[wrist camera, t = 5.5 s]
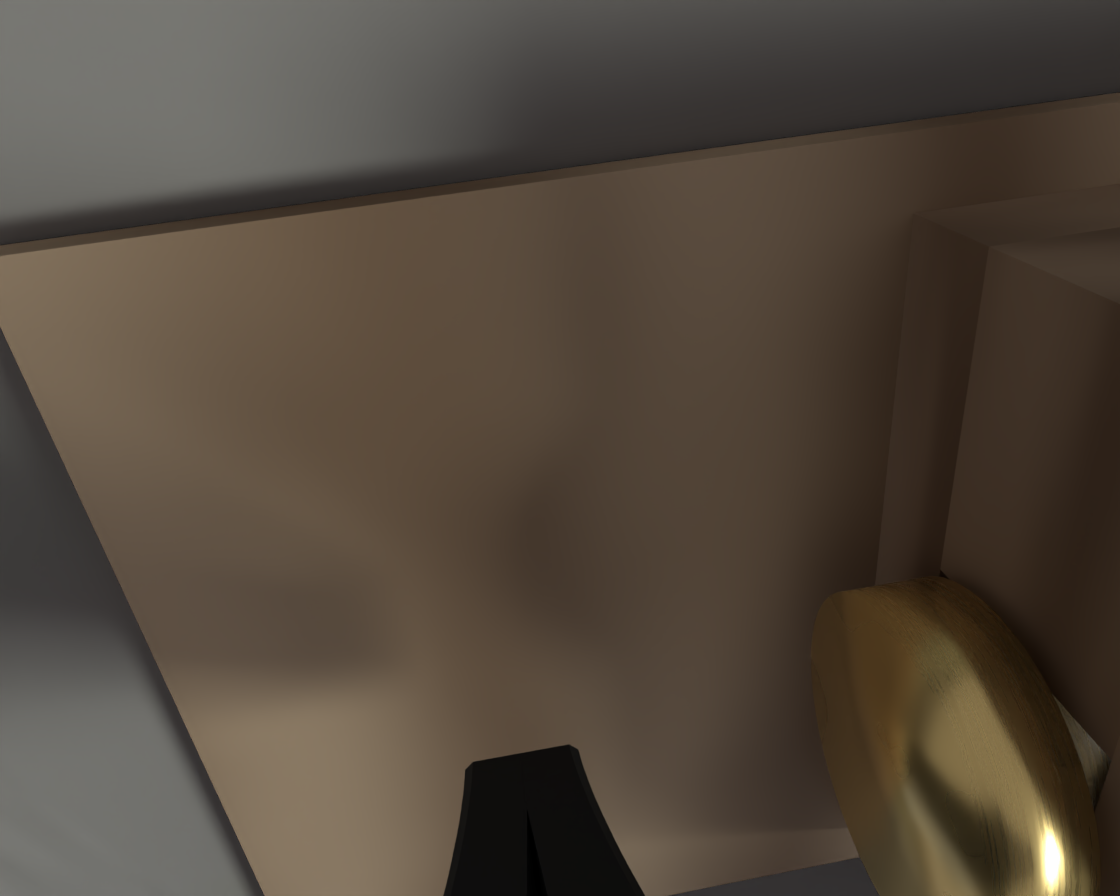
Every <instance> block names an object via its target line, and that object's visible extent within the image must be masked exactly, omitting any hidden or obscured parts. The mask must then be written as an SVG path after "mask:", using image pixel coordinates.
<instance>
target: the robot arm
mask: <svg viewBox="0 0 1120 896" xmlns="http://www.w3.org/2000/svg"><path fill="white" fill-rule="evenodd" d="M443 896H645V894H644V893H643V891H642V889H641V887H640V885H639V884H638V882H637V880H636V878H635V877H634V875H633V873H632V871H631V869H630V868H629V866H628V864H627V862H626V860H625V858H624V856H623V854H622V853H621V851H620V849H619V847H618V845H617V843H616V841H615V839H614V837H613V835H612V833H611V831H610V828H609V826H608V824H607V822H606V820H605V818H604V816H603V814H602V812H601V809H600V807H599V805H598V803H597V800H596V798H595V796H594V793H593V791H592V788H591V786H590V783H589V781H588V778H587V775H586V772H585V770H584V767H583V764H582V761H581V757H580V753H579V750H578V749H577V748H575V747H573V746H571V745H570V744H568V745H562V746H557V747H551V748H546V749H540V750H535V751H529V752H524V753H518V754H513V755H507V756H502V757H496V758H491V759H485V760H480V761H474V762H472V763H471V764H470V765H469V766H468V767H467V768H466V769H465V778H464V791H463V799H462V806H461V813H460V820H459V826H458V831H457V837H456V842H455V846H454V851H453V856H452V861H451V866H450V870H449V875H448V879H447V883H446V887H445V891H444V895H443Z"/></svg>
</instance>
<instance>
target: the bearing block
mask: <svg viewBox="0 0 1120 896" xmlns="http://www.w3.org/2000/svg"><path fill="white" fill-rule="evenodd" d="M0 327H1V330H2V332H3V334H4V336H5V338H6V340H7V342H8V345H9V347H10V349H11V351H12V353H13V355H14V358H15V360H16V362H17V364H18V366H19V368H20V370H21V373H22V375H23V377H24V379H25V381H26V383H27V385H28V388H29V390H30V392H31V394H32V396H33V398H34V401H35V403H36V405H37V407H38V409H39V411H40V413H41V416H42V418H43V420H44V422H45V424H46V426H47V429H48V431H49V433H50V435H51V437H52V439H53V441H54V444H55V446H56V448H57V450H58V452H59V454H60V457H61V459H62V461H63V463H64V465H65V467H66V469H67V472H68V474H69V476H70V478H71V480H72V482H73V484H74V487H75V489H76V491H77V493H78V495H79V497H80V500H81V502H82V504H83V506H84V508H85V510H86V512H87V515H88V517H89V519H90V521H91V523H92V525H93V528H94V530H95V532H96V534H97V536H98V538H99V540H100V543H101V545H102V547H103V549H104V551H105V553H106V556H107V558H108V560H109V562H110V564H111V566H112V568H113V571H114V573H115V575H116V577H117V579H118V581H119V584H120V586H121V588H122V590H123V592H124V594H125V596H126V599H127V601H128V603H129V605H130V607H131V609H132V611H133V614H134V616H135V618H136V620H137V622H138V624H139V627H140V629H141V631H142V633H143V635H144V637H145V639H146V642H147V644H148V646H149V648H150V650H151V652H152V655H153V657H154V659H155V661H156V663H157V665H158V667H159V670H160V672H161V674H162V676H163V678H164V680H165V683H166V685H167V687H168V689H169V691H170V693H171V695H172V698H173V700H174V702H175V704H176V706H177V708H178V710H179V713H180V715H181V717H182V719H183V721H184V723H185V726H186V728H187V730H188V732H189V734H190V736H191V738H192V741H193V743H194V745H195V747H196V749H197V751H198V754H199V756H200V758H201V760H202V762H203V764H204V766H205V769H206V771H207V773H208V775H209V777H210V779H211V782H212V784H213V786H214V788H215V790H216V792H217V794H218V797H219V799H220V801H221V803H222V805H223V807H224V810H225V812H226V814H227V816H228V818H229V820H230V822H231V825H232V827H233V829H234V831H235V833H236V835H237V837H238V840H239V842H240V844H241V846H242V848H243V850H244V853H245V855H246V857H247V859H248V861H249V863H250V865H251V868H252V870H253V872H254V874H255V876H256V878H257V881H258V883H259V885H260V887H261V889H262V891H263V893H264V896H443V895H444V891H445V887H446V883H447V879H448V875H449V870H450V866H451V861H452V856H453V851H454V846H455V842H456V837H457V831H458V826H459V820H460V813H461V806H462V799H463V791H464V778H465V769H466V768H467V767H468V766H469V765H470V764H471V763H472V762H474V761H480V760H485V759H491V758H496V757H502V756H507V755H513V754H518V753H524V752H529V751H535V750H540V749H546V748H551V747H557V746H562V745H568V744H570V745H571V746H573V747H575V748H577V749H578V750H579V753H580V757H581V761H582V764H583V767H584V770H585V772H586V775H587V778H588V781H589V783H590V786H591V788H592V791H593V793H594V796H595V798H596V800H597V803H598V805H599V807H600V809H601V812H602V814H603V816H604V818H605V820H606V822H607V824H608V826H609V828H610V831H611V833H612V835H613V837H614V839H615V841H616V843H617V845H618V847H619V849H620V851H621V853H622V854H623V856H624V858H625V860H626V862H627V864H628V866H629V868H630V869H631V871H632V873H633V875H634V877H635V878H636V880H637V882H638V884H639V885H640V887H641V889H642V891H643V893H644V894H645V896H669V895H674V894H679V893H684V892H689V891H694V890H699V889H704V888H709V887H714V886H719V885H724V884H729V883H734V882H739V881H744V880H748V879H753V878H758V877H763V876H768V875H773V874H778V873H783V872H788V871H793V870H798V869H803V868H808V867H813V866H818V865H823V864H828V863H833V862H838V861H843V860H848V859H853V858H858V857H860V856H859V854H858V852H857V849H856V847H855V845H854V842H853V840H852V838H851V835H850V833H849V830H848V827H847V825H846V822H845V820H844V817H843V814H842V812H841V809H840V806H839V803H838V800H837V797H836V794H835V791H834V788H833V784H832V781H831V778H830V774H829V771H828V767H827V763H826V759H825V756H824V752H823V747H822V743H821V738H820V734H819V729H818V723H817V718H816V712H815V705H814V698H813V689H812V678H811V644H812V634H813V629H814V624H815V620H816V617H817V614H818V611H819V609H820V607H821V605H822V604H823V602H824V601H825V600H826V599H827V598H828V597H829V596H830V595H832V594H834V593H837V592H842V591H848V590H854V589H859V588H865V587H871V586H876V585H882V584H887V583H893V582H899V581H904V580H910V579H916V578H921V577H929V576H936V577H944V578H946V579H949V580H952V581H955V582H957V583H959V584H960V585H962V586H964V587H965V588H967V589H969V590H970V591H972V592H973V593H974V594H976V595H977V596H978V597H979V598H981V599H982V600H983V601H984V602H985V603H986V604H987V605H989V606H990V607H991V608H992V609H993V610H994V611H995V612H996V613H997V614H998V615H999V616H1000V618H1001V619H1002V620H1003V621H1004V622H1005V623H1006V625H1007V626H1008V627H1009V628H1010V629H1011V631H1012V632H1013V633H1014V634H1015V636H1016V637H1017V638H1018V640H1019V641H1020V643H1021V644H1022V645H1023V647H1024V648H1025V650H1026V651H1027V652H1028V654H1029V655H1030V657H1031V658H1032V660H1033V662H1034V663H1035V665H1036V667H1037V668H1038V670H1039V672H1040V673H1041V675H1042V676H1043V678H1044V680H1045V682H1046V684H1047V686H1048V687H1049V689H1050V691H1051V693H1052V694H1053V696H1054V697H1055V698H1056V699H1057V700H1058V701H1059V702H1060V703H1061V704H1062V706H1063V707H1064V708H1065V709H1066V710H1067V711H1068V712H1069V713H1070V714H1071V716H1072V717H1073V718H1074V719H1075V720H1076V721H1077V722H1078V723H1079V724H1080V726H1081V727H1082V728H1083V729H1084V730H1085V731H1086V732H1087V733H1088V735H1089V736H1090V737H1091V738H1092V739H1093V740H1094V741H1095V742H1096V743H1097V745H1098V746H1099V747H1100V748H1101V749H1102V750H1103V751H1104V752H1105V753H1106V755H1107V756H1108V757H1109V758H1110V759H1111V760H1112V761H1111V764H1110V767H1109V770H1108V773H1107V776H1106V779H1105V782H1104V786H1103V789H1102V792H1101V795H1100V798H1099V801H1098V804H1097V807H1096V810H1095V813H1094V814H1095V819H1096V824H1097V832H1098V839H1099V847H1100V869H1101V879H1100V890H1099V896H1120V92H1119V93H1112V94H1104V95H1097V96H1090V97H1082V98H1075V99H1068V100H1060V101H1053V102H1046V103H1038V104H1031V105H1024V106H1017V107H1009V108H1002V109H995V110H987V111H980V112H973V113H965V114H958V115H951V116H943V117H936V118H929V119H921V120H914V121H907V122H899V123H892V124H885V125H877V126H870V127H863V128H856V129H848V130H841V131H834V132H826V133H819V134H812V135H804V136H797V137H790V138H782V139H775V140H768V141H760V142H753V143H746V144H738V145H731V146H724V147H716V148H709V149H702V150H695V151H687V152H680V153H673V154H665V155H658V156H651V157H643V158H636V159H629V160H621V161H614V162H607V163H599V164H592V165H585V166H577V167H570V168H563V169H555V170H548V171H541V172H534V173H526V174H519V175H512V176H504V177H497V178H490V179H482V180H475V181H468V182H460V183H453V184H446V185H438V186H431V187H424V188H416V189H409V190H402V191H395V192H387V193H380V194H373V195H365V196H358V197H351V198H343V199H336V200H329V201H321V202H314V203H307V204H299V205H292V206H285V207H277V208H270V209H263V210H255V211H248V212H241V213H234V214H226V215H219V216H212V217H204V218H197V219H190V220H182V221H175V222H168V223H160V224H153V225H146V226H138V227H131V228H124V229H116V230H109V231H102V232H94V233H87V234H80V235H73V236H65V237H58V238H51V239H43V240H36V241H29V242H21V243H14V244H7V245H0Z"/></svg>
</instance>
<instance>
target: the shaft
mask: <svg viewBox="0 0 1120 896" xmlns="http://www.w3.org/2000/svg"><path fill="white" fill-rule="evenodd" d="M811 678H812V689H813V698H814V705H815V712H816V718H817V723H818V729H819V734H820V738H821V743H822V747H823V752H824V756H825V759H826V763H827V767H828V771H829V774H830V778H831V781H832V784H833V788H834V791H835V794H836V797H837V800H838V803H839V806H840V809H841V812H842V814H843V817H844V820H845V822H846V825H847V827H848V830H849V833H850V835H851V838H852V840H853V842H854V845H855V847H856V849H857V852H858V854H859V856H860V858H861V860H862V862H863V865H864V867H865V869H866V871H867V873H868V875H869V877H870V879H871V881H872V883H873V884H874V886H875V888H876V890H877V892H878V894H879V895H880V896H1099V890H1100V879H1101V869H1100V847H1099V839H1098V832H1097V824H1096V819H1095V814H1094V813H1095V810H1096V807H1097V804H1098V801H1099V798H1100V795H1101V792H1102V789H1103V786H1104V782H1105V779H1106V776H1107V773H1108V770H1109V767H1110V764H1111V761H1112V760H1111V759H1110V758H1109V757H1108V756H1107V755H1106V753H1105V752H1104V751H1103V750H1102V749H1101V748H1100V747H1099V746H1098V745H1097V743H1096V742H1095V741H1094V740H1093V739H1092V738H1091V737H1090V736H1089V735H1088V733H1087V732H1086V731H1085V730H1084V729H1083V728H1082V727H1081V726H1080V724H1079V723H1078V722H1077V721H1076V720H1075V719H1074V718H1073V717H1072V716H1071V714H1070V713H1069V712H1068V711H1067V710H1066V709H1065V708H1064V707H1063V706H1062V704H1061V703H1060V702H1059V701H1058V700H1057V699H1056V698H1055V697H1054V696H1053V694H1052V693H1051V691H1050V689H1049V687H1048V686H1047V684H1046V682H1045V680H1044V678H1043V676H1042V675H1041V673H1040V672H1039V670H1038V668H1037V667H1036V665H1035V663H1034V662H1033V660H1032V658H1031V657H1030V655H1029V654H1028V652H1027V651H1026V650H1025V648H1024V647H1023V645H1022V644H1021V643H1020V641H1019V640H1018V638H1017V637H1016V636H1015V634H1014V633H1013V632H1012V631H1011V629H1010V628H1009V627H1008V626H1007V625H1006V623H1005V622H1004V621H1003V620H1002V619H1001V618H1000V616H999V615H998V614H997V613H996V612H995V611H994V610H993V609H992V608H991V607H990V606H989V605H987V604H986V603H985V602H984V601H983V600H982V599H981V598H979V597H978V596H977V595H976V594H974V593H973V592H972V591H970V590H969V589H967V588H965V587H964V586H962V585H960V584H959V583H957V582H955V581H952V580H949V579H946V578H944V577H936V576H929V577H921V578H916V579H910V580H904V581H899V582H893V583H887V584H882V585H876V586H871V587H865V588H859V589H854V590H848V591H842V592H837V593H834V594H832V595H830V596H829V597H828V598H827V599H826V600H825V601H824V602H823V604H822V605H821V607H820V609H819V611H818V614H817V617H816V620H815V624H814V629H813V634H812V644H811Z"/></svg>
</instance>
